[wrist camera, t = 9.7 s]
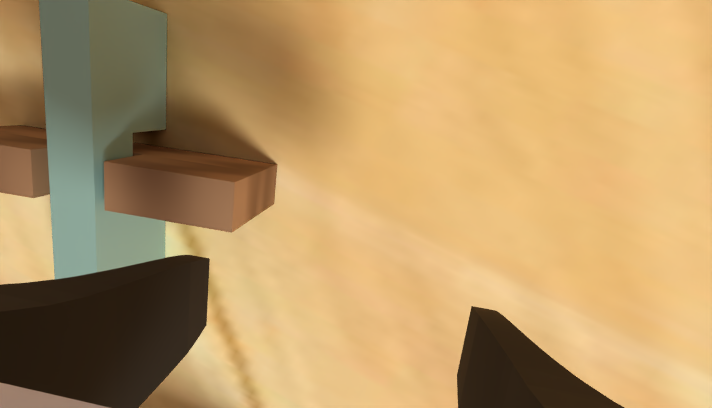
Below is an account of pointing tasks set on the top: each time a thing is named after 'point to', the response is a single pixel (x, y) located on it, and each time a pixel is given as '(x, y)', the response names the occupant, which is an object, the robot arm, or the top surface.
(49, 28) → the cross plate
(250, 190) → the stand plate
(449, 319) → the top surface
